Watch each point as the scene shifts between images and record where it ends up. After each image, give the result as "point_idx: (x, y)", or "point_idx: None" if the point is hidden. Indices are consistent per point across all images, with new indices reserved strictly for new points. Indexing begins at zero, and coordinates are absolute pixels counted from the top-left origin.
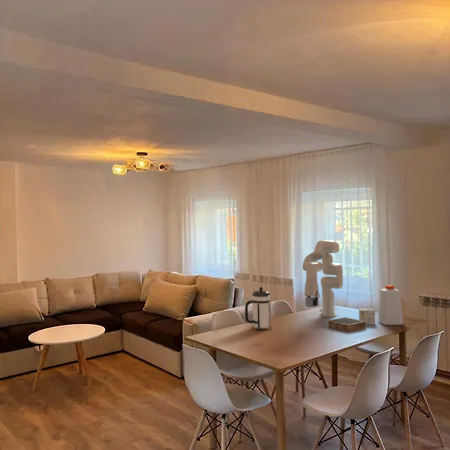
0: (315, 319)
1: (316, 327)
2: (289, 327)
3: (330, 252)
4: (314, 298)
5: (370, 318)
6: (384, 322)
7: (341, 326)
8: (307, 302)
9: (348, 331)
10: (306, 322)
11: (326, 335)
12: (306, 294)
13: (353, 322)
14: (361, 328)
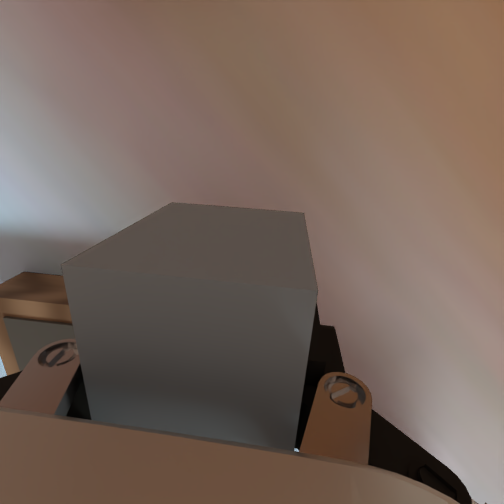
0: (410, 407)
1: None
2: (422, 47)
3: None
4: (31, 376)
5: None
6: None
7: (57, 290)
8: (236, 232)
9: (20, 274)
10: (409, 306)
11: (9, 84)
12: (343, 484)
13: (18, 365)
14: None
